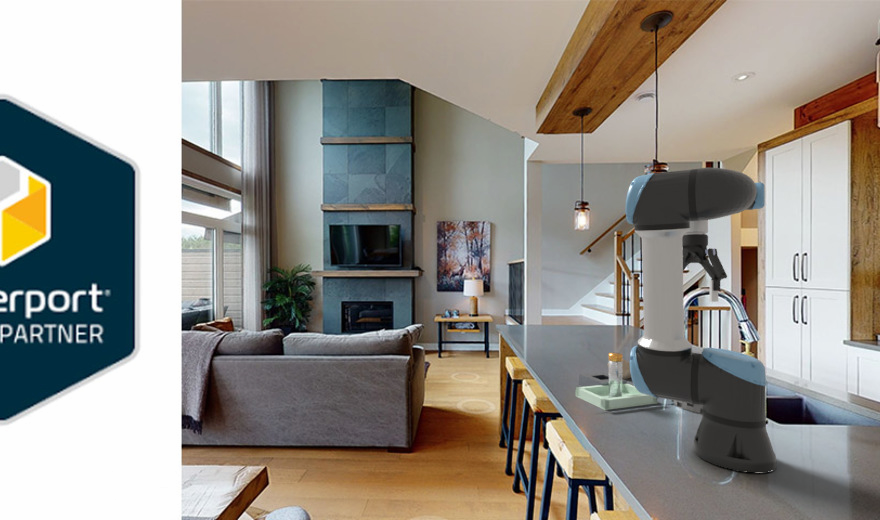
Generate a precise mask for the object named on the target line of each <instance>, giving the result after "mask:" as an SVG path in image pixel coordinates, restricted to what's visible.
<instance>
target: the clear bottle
mask: <svg viewBox="0 0 880 520" xmlns="http://www.w3.org/2000/svg"><path fill="white" fill-rule="evenodd" d="M623 357H624V356H623V353H620V352H608V362H609V368H608V374H609V397H608V398H613V397H622V361H623V359H624V358H623Z"/></svg>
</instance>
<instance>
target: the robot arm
mask: <svg viewBox="0 0 880 520" xmlns="http://www.w3.org/2000/svg"><path fill="white" fill-rule="evenodd" d="M765 190H766V187H765V184H764V183H763V182H755V181H754V179H753V178H751V177H750V176H749V175H747V174H745V173H743V172H741V171H736V170H733V169H727V168H721V167H698V168H693V169H692V168H691V169H684V170H683V169H682V170H674V171H662V172H661V171H660V172H653V173H648V174H643V175H639V176H636V177H635V178H634V179H633V180H632V181H631V182H630V184H629V187H628V190H627V194H626V199H625V218H626V222H627V224H629V225H634V233H636V235H638V236H639V237H640V239H641V255H642V256H641V257H642V258H641V260H642V263H641V264H642V297H643V298H642V304H643V305H642V306H643V335H642V336H641V337H640V338H639V339H638V340H637V345H635V346H633V347H632V348H631V349H630V353H629V354H630V355H629V363H630V373H631V377H630V378H631V381H632V384H633V386H635V388H636V389H637V390H638V391H639V392H640V393H642V394H645V395H650V396H653V397H655V398H657V399H664V400H669V401H671V400H675V401H681V402H687V403H692V404H698V405H702V407H703V414H702V418H701V420H700V423H699V425H698V427H697V430H696V433H695V435H694V438H693V452H694V454H696V456H698V457H699V458H700V459H702V460H703V461H706V462H709V463H710V464H712V465H715V466H717V465H718V467H720V466H721V468H723V467H724V469H727V468H729V469H728V470H730V469H733V470H732V471H735V470H738V471H737V472H739V471H747V472H768V471H771V470H774V469H775V468H776V469H777V455H776V453H775V451H774V448H773V445H772V442H771V440H770V436H769V433H768V431H767V428H766V427H767V423H766V421H767V419H766V417H767V413H766V412H767V403H766V397H767V396H766V386H767V385H768V382H767V378H766V367H765V365H764V363H763V362H762V361H761V360H759V359H757V357H754V356H751V355H748V354H745V353H742V352H738V351H733V350H730V349H725V348H719V347H718V348H716V347H704V348H703V350H702V351H701V353H696V352H693V351H692V348H693V347H692V346H693V345H692V343H691V342H690V341H689V340H688V339H687V338H685V327H684V326H685V319H684V317H685V315H684V312H685V311H684V310H685V309H684V305H685V304H684V271H685V269H686V268H687V267H688V266H689V264H700V265H701V266H702V268H703V269H704V270H705V271H706V273H707V274H708V276H709V277H710V280H709V302H712V303H713V302H719V292H720V291H721V280H723V279H728V275H727V273H726V270H725V268H724V266H723V265H722V262H721V260H720V258H719V256H718V249H717V248H707V247H708V246H709V235H708V234H707V233H708V232H709V221H711V220H715V219H720V218H725V217H729V216H732V215H735V214H739V213H741V212H744V211H753V210H760V209H763V208H764V207H765V202H766V201H765V198H766V197H765V195H766V191H765ZM776 469H775V470H776ZM775 470H774V471H775Z"/></svg>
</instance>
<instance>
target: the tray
mask: <svg viewBox="0 0 880 520" xmlns="http://www.w3.org/2000/svg"><path fill="white" fill-rule="evenodd" d="M575 397H576V398H578V399H580V400H582V401H585V402H587V403H589V404H592V405H593V406H596V407H598V408H599V409H601V410H604V411H608V410H616V409H617V410H618V409H622V408H631V407H638V406H647V405H654V404H658V398H655V397H653V396H650V395H645V394H642V393H640V392H639V391H638V390H637V389H636V388H635V386H634V384H633V385H632V384H630V383H628V382H627V383H623V384H622V397H613V398H608V397H609V385H604V386H602V385H596V386H586V387H584V386H578V387H575Z"/></svg>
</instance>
